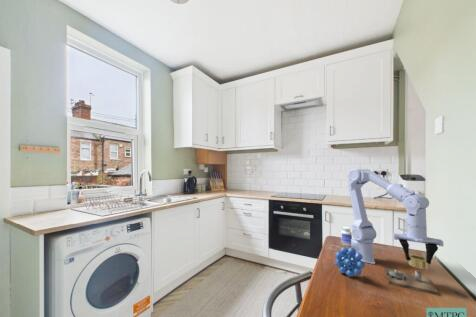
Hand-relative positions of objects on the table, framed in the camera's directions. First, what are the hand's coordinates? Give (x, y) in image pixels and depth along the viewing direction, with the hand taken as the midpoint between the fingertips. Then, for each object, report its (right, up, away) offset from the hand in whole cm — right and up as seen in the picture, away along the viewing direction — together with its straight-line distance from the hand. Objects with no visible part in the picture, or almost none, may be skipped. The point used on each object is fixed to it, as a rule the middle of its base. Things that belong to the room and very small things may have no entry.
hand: (417, 261), depth 78 cm
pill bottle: (-6, -11, +40) cm, 42 cm away
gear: (0, -2, 0) cm, 2 cm away
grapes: (-24, -9, +5) cm, 26 cm away
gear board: (-3, -8, +1) cm, 9 cm away
